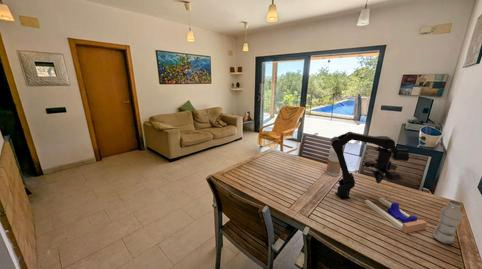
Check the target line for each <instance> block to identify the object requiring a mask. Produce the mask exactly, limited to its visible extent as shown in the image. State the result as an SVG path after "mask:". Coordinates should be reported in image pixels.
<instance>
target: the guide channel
mask: <svg viewBox="0 0 482 269" xmlns="http://www.w3.org/2000/svg"><path fill="white" fill-rule="evenodd" d="M378 202H380V203H382V204H383V205H385V206H386V207H387V208H391V204H392V202H390V201H388V200H386V199H385V198H383V197H379V198H378ZM364 204H366V205H367V206H368V207H369V208H371V209H372V210H373V211H375V212H376V213H377V214H379V215H380V216H382V217H383V218H385V219H386V220H387V221H388V222H390V223H391V224H393V225H394V226H395V227H397V228H398V229H399V230H401V231H402V232H403V233H404V234H409V233H414V232H418V231H422V230H426V228H427V223H428V222H427V221H426V220H424V219H419V220H418V219H417V221H413V222H408V223H403V222H401V221H400V220H399V219H397V220H396V219H395V218H394V217H392V216H391V215H390V214H389V213H388V212H387V211H385V210H383V209H382V208H381V207H379V206H377V205H376V204H375V203H373V202H372V201H371V200H369V199H365V201H364ZM399 210H400V212H401V214H402V215H403V216H404V217H405V218H408V217H409V216H411V215H410V214H408V213H407V212H405V211H404V210H402V209H401V208H399Z"/></svg>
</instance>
